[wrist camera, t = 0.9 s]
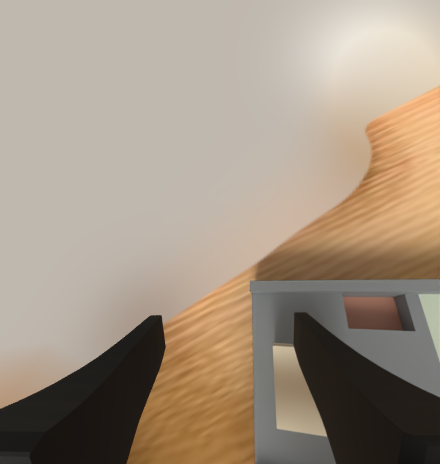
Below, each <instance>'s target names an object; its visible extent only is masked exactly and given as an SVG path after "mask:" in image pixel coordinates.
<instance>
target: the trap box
mask: <svg viewBox="0 0 440 464" xmlns="http://www.w3.org/2000/svg"><path fill="white" fill-rule="evenodd" d="M250 291H251V293H252V319H253V374H254V430H255V464H336V462H335V459H334V455H333V452H332V449H331V446H330V443H329V440H328V437H326V436H320V435H313V434H307V433H301V432H294V431H288V430H282V429H277V422H276V403H275V383H274V363H273V344H274V343H285V344H293V341H294V312H306V313H308V314H309V315H310V316H311V317H313V318H314V319H315V320H316V321H317V322H319V323H320V324H321V325H322V326H323V327H325V328H326V329H327V330H328V331H330V332H331V333H332V334H333V335H335V336H336V337H337V338H339V339H340V340H341V341H343V342H344V343H345V344H347V345H348V346H349V347H351V348H352V349H354V350H355V351H356V352H358V353H359V354H361V355H362V356H364V357H366V358H367V359H369V360H370V361H372V362H374V363H375V364H377V365H378V366H380V367H382V368H383V369H385V370H387V371H389V372H390V373H392V374H394V375H396V376H398V377H400V378H402V379H403V380H405V381H407V382H409V383H411V384H413V385H415V386H417V387H419V388H421V389H423V390H425V391H427V392H430V393H432V394H434V395H436V396H438V397H440V279H396V280H287V281H250Z"/></svg>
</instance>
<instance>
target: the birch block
mask: <svg viewBox="0 0 440 464" xmlns="http://www.w3.org/2000/svg"><path fill="white" fill-rule="evenodd" d="M273 363H274V383H275V403H276V422H277V429H282V430H288V431H294V432H301V433H307V434H313V435H320V436H326V437H327V434H326V431H325V428H324V425H323V422H322V419H321V417H320V414H319V412H318V409H317V407H316V404H315V402H314V400H313V397H312V395H311V393H310V390H309V388H308V385H307V383H306V381H305V378H304V376H303V373H302V371H301V368H300V366H299V363H298V360H297V356H296V353H295V349H294V346H293V344H285V343H274V344H273Z"/></svg>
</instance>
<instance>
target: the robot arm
mask: <svg viewBox="0 0 440 464" xmlns="http://www.w3.org/2000/svg"><path fill="white" fill-rule="evenodd" d="M293 346H294V349H295V353H296V356H297V360H298V363H299V366H300V368H301V371H302V373H303V376H304V378H305V381H306V383H307V385H308V388H309V390H310V393H311V395H312V397H313V400H314V402H315V404H316V407H317V409H318V412H319V414H320V417H321V419H322V422H323V425H324V428H325V431H326V434H327V437H328V440H329V443H330V446H331V449H332V452H333V455H334V459H335V462H336V464H440V397H438V396H436V395H434V394H432V393H430V392H427V391H425V390H423V389H421V388H419V387H417V386H415V385H413V384H411V383H409V382H407V381H405V380H403V379H402V378H400V377H398V376H396V375H394V374H392V373H390V372H389V371H387V370H385V369H383V368H382V367H380V366H378V365H377V364H375V363H374V362H372V361H370V360H369V359H367V358H366V357H364V356H362V355H361V354H359V353H358V352H356V351H355V350H354V349H352V348H351V347H349V346H348V345H347V344H345V343H344V342H343V341H341V340H340V339H339V338H337V337H336V336H335V335H333V334H332V333H331V332H330V331H328V330H327V329H326V328H325V327H323V326H322V325H321V324H320V323H319V322H317V321H316V320H315V319H314V318H313V317H311V316H310V315H309V314H308V313H306V312H294V341H293ZM165 348H166V346H165V338H164V331H163V323H162V316H161V315H156V316H154V315H153V316H149V317H148V318H147V319H146V320H144V321H143V322H142V323H141V324H140V325H138V326H137V327H136V328H135V329H134V330H132V331H131V332H130V333H129V334H128V335H126V336H125V337H124V338H123V339H121V340H120V341H119V342H117V343H116V344H115V345H114V346H112V347H111V348H110V349H108V350H107V351H106V352H104V353H103V354H102V355H100V356H99V357H97V358H96V359H94V360H93V361H91V362H90V363H88V364H87V365H85V366H84V367H82V368H80V369H79V370H77V371H75V372H74V373H72V374H70V375H68V376H67V377H65V378H63V379H61V380H60V381H58V382H56V383H54V384H52V385H50V386H49V387H46V388H45V389H43V390H41V391H39V392H37V393H34V394H32V395H30V396H28V397H26V398H24V399H22V400H20V401H18V402H15V403H13V404H11V405H8V406H6V407H4V408H1V409H0V464H126V463H127V460H128V456H129V453H130V449H131V446H132V443H133V439H134V436H135V433H136V430H137V426H138V423H139V420H140V417H141V415H142V412H143V409H144V407H145V404H146V402H147V399H148V397H149V394H150V392H151V389H152V387H153V384H154V382H155V379H156V377H157V374H158V372H159V369H160V366H161V363H162V359H163V355H164V351H165Z"/></svg>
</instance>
